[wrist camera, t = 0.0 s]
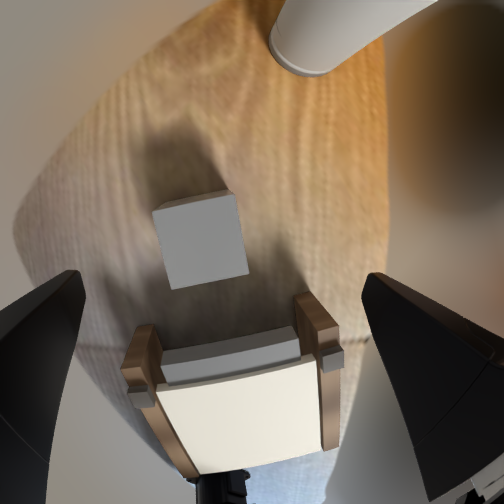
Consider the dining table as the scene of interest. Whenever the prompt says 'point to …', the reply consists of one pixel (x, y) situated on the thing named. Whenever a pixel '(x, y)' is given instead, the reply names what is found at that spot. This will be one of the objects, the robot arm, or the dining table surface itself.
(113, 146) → the dining table surface
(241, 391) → the trapdoor
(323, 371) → the trapdoor frame
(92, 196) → the dining table surface
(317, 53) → the travel mug
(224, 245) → the light gray block
